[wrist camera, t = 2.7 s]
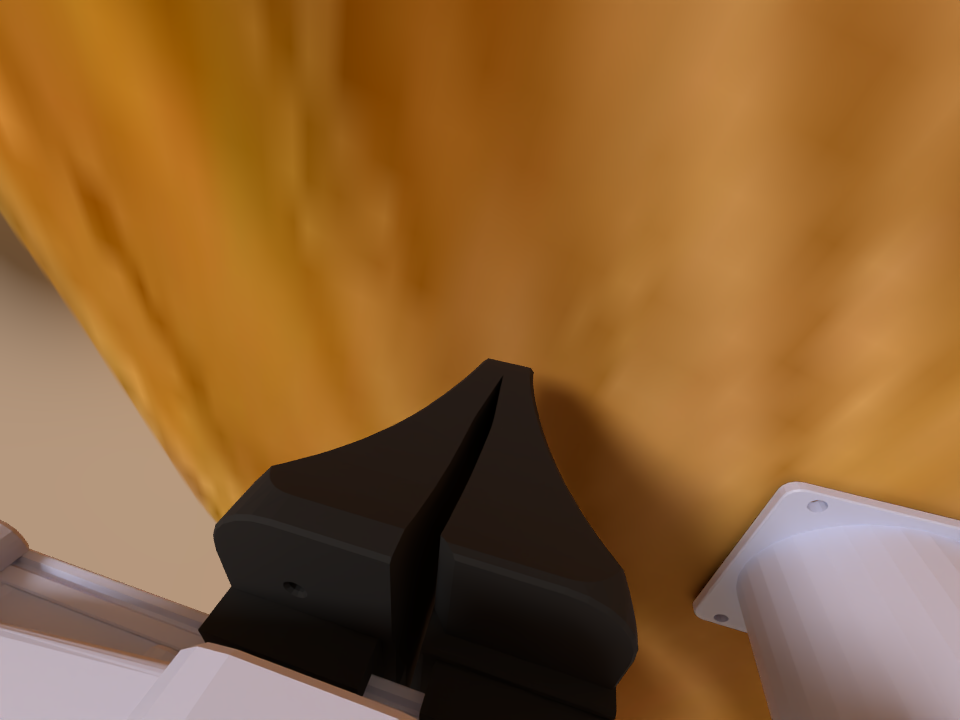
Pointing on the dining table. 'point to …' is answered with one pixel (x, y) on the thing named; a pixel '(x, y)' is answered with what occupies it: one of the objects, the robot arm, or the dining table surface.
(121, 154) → the dining table surface
